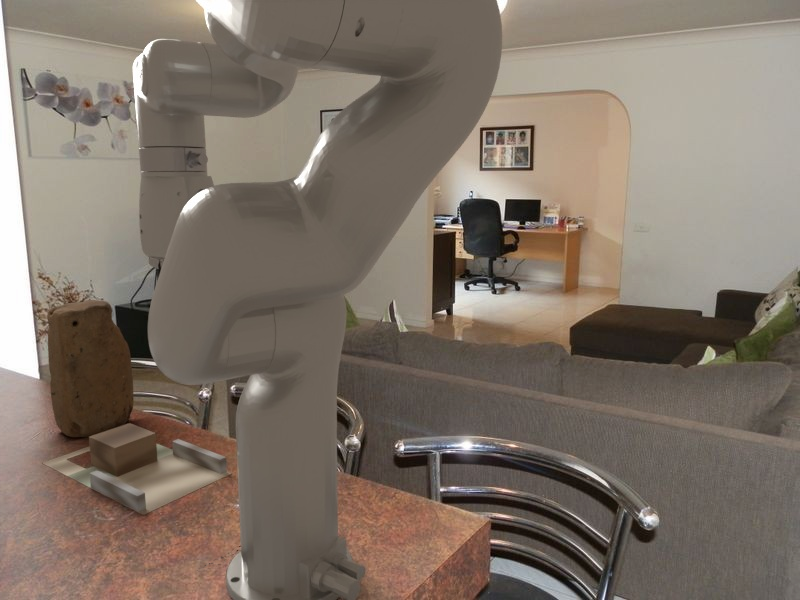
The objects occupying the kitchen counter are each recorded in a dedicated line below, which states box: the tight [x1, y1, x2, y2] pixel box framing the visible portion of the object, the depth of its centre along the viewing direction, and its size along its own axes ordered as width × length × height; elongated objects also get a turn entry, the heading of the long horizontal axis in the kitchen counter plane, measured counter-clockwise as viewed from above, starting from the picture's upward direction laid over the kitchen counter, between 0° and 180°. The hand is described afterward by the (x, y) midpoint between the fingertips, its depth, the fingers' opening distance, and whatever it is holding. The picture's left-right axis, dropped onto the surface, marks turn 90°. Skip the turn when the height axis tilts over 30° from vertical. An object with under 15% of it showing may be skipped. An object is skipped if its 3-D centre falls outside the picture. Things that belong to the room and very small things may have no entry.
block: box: [46, 299, 135, 438], centre depth 102 cm, size 11×8×20 cm
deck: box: [41, 438, 232, 516], centre depth 88 cm, size 23×13×3 cm, turn 55°
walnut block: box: [88, 422, 158, 477], centre depth 89 cm, size 6×6×4 cm
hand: (184, 316), depth 82 cm, fingers closed
